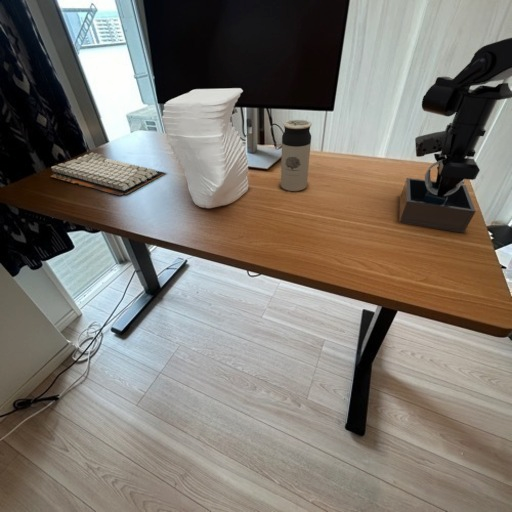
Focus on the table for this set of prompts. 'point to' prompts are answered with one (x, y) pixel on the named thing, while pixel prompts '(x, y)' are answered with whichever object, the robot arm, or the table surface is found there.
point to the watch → (432, 192)
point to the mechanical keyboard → (105, 174)
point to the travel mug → (295, 154)
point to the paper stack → (208, 145)
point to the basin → (435, 207)
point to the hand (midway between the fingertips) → (438, 191)
